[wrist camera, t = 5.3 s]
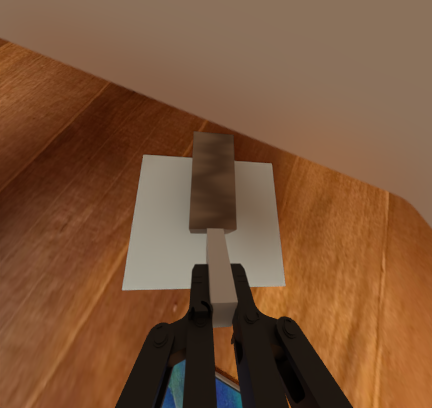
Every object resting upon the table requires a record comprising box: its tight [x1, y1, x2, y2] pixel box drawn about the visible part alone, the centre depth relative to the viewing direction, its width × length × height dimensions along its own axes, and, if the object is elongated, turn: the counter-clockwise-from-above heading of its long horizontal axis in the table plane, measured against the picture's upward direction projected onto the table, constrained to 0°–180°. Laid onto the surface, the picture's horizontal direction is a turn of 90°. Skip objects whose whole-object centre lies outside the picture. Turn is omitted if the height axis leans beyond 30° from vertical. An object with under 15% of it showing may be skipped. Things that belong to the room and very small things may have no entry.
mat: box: [122, 155, 285, 290], centre depth 22 cm, size 20×18×1 cm
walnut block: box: [189, 131, 237, 234], centre depth 20 cm, size 5×5×12 cm
